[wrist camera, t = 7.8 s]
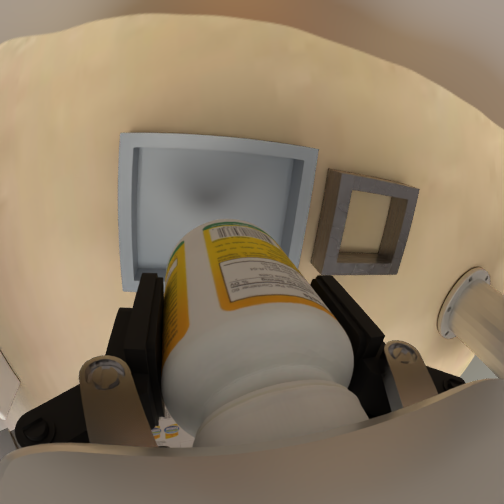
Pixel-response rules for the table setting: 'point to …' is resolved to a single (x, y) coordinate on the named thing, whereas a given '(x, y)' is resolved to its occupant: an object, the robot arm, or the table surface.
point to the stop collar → (335, 217)
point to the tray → (206, 193)
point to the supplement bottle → (249, 342)
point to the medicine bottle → (7, 387)
